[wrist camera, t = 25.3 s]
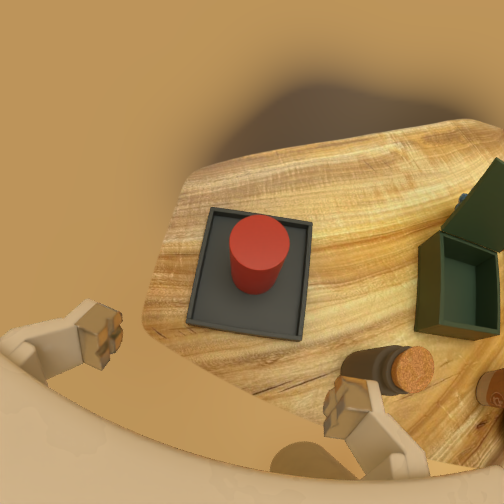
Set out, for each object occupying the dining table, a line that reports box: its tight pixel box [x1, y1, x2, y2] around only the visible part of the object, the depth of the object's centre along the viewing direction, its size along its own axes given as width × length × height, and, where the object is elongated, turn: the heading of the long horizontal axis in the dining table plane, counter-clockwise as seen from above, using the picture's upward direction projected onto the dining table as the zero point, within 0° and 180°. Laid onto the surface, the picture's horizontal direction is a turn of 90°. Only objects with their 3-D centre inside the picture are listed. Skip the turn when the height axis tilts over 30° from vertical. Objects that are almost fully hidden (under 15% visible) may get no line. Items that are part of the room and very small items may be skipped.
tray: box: [186, 207, 313, 342], centre depth 41 cm, size 17×15×2 cm
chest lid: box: [441, 157, 504, 253], centre depth 32 cm, size 15×15×5 cm
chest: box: [414, 230, 500, 341], centre depth 39 cm, size 15×15×7 cm
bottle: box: [341, 345, 434, 396], centre depth 30 cm, size 6×6×15 cm
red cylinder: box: [229, 215, 290, 295], centre depth 36 cm, size 6×6×11 cm
